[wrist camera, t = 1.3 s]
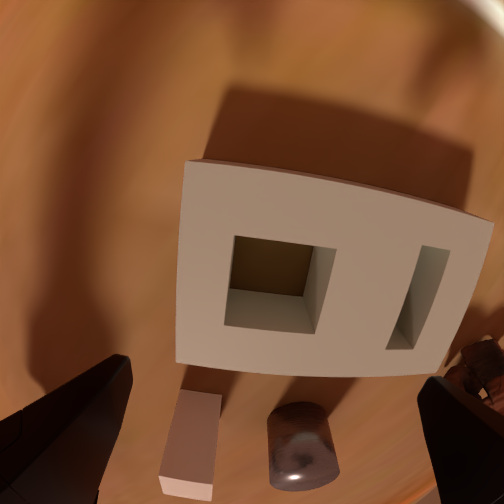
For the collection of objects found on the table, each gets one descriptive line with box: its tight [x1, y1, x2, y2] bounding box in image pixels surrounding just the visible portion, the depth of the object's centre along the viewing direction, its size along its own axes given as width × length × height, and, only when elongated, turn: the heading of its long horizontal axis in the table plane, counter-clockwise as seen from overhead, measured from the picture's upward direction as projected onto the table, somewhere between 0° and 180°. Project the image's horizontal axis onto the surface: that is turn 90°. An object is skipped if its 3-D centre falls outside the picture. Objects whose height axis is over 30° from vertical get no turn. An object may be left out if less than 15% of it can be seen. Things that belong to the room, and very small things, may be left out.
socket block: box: [176, 159, 494, 377], centre depth 15 cm, size 16×10×4 cm, turn 82°
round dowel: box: [267, 402, 340, 491], centre depth 19 cm, size 5×5×6 cm
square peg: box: [158, 389, 222, 501], centre depth 17 cm, size 3×3×8 cm
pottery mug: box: [443, 339, 504, 416], centre depth 18 cm, size 12×10×8 cm
